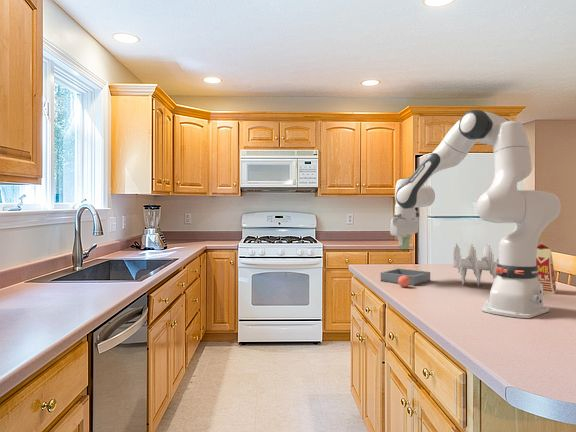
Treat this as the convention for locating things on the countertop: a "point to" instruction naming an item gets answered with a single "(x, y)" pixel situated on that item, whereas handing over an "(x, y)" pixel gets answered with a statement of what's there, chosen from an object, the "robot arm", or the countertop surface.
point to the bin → (413, 275)
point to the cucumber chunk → (405, 243)
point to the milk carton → (545, 269)
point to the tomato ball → (404, 281)
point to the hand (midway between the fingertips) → (404, 244)
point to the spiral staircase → (475, 262)
